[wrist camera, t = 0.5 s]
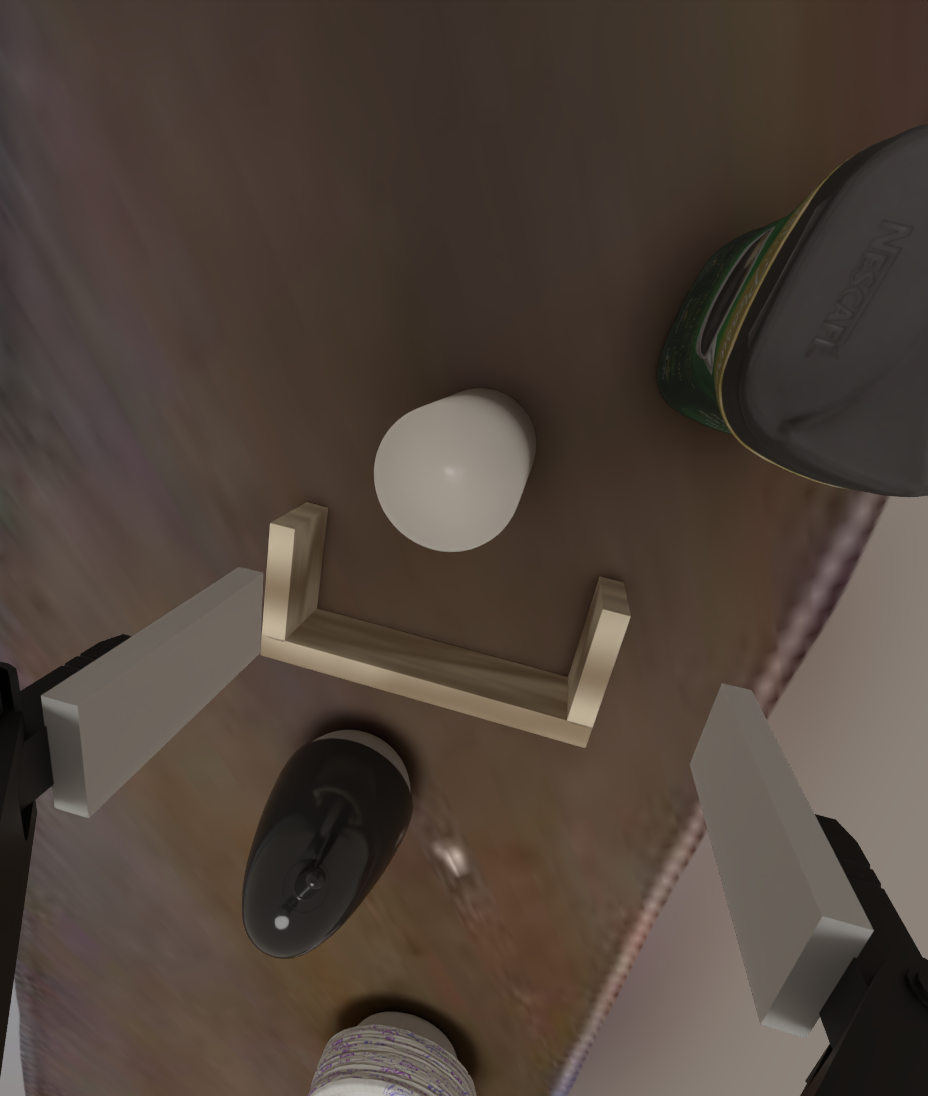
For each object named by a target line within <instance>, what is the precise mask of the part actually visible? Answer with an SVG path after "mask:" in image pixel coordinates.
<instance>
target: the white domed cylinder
mask: <svg viewBox="0 0 928 1096" xmlns="http://www.w3.org/2000/svg"><path fill="white" fill-rule="evenodd" d="M535 455H536V435H535V431H534V427H533V425H532V422H531V420H530V418H529V416H528V415H527V413H526V412H525V410H524V409H523V408H522V407H521V406H520V405H519V404H518V403H517V402H516V401H515V400H514V399H512V398H511V397H509V396H508V395H506V394H504V393H501V392H499V391H496V390H492V389H486V388H474V389H468V390H465V391H461V392H459V393H456V394H453V395H451V396H448V397H446V398H443V399H440V400H438V401H435V402H433V403H430V404H427V405H425V406H422V407H420V408H417V409H415V410H413V411H411V412H409V413H407V414H406V415H404V416H403V417H401V418H400V419H399V420H398V421H396V422H395V423H394V425H393V426H392V427H391V428H390V429H389V430H388V432H387V433H386V435H385V436H384V438H383V440H382V442H381V444H380V446H379V449H378V451H377V454H376V459H375V465H374V483H375V488H376V493H377V496H378V500H379V502H380V504H381V507H382V509H383V511H384V512H385V514H386V516H387V517H388V519H389V520H390V521H391V523H392V524H393V525H394V526H395V527H396V528H397V529H398V530H399V531H400V532H401V533H402V534H403V535H405V536H406V537H407V538H409V539H410V540H412V541H414V542H415V543H417V544H419V545H422V546H424V547H427V548H430V549H433V550H438V551H445V552H458V551H465V550H470V549H473V548H476V547H479V546H481V545H483V544H485V543H487V542H489V541H490V540H492V539H493V538H495V537H496V536H497V535H498V534H499V533H500V532H501V531H502V530H503V529H504V528H505V527H506V526H507V524H508V523H509V521H510V520H511V518H512V517H513V515H514V513H515V510H516V508H517V506H518V503H519V500H520V498H521V495H522V492H523V490H524V487H525V484H526V482H527V479H528V477H529V474H530V471H531V469H532V466H533V463H534V460H535Z"/></svg>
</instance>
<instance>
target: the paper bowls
mask: <svg viewBox="0 0 928 1096" xmlns="http://www.w3.org/2000/svg"><path fill="white" fill-rule="evenodd" d="M308 1096H476V1091H475V1087H474V1083H473V1080H472V1079H471V1077H470V1075H468V1072H467V1070H466V1069H465V1068H464V1066H462V1065H461V1063H460V1062H459V1061H458V1060H457V1056H456V1053H455V1050H454V1048H453V1046H452V1044H451V1043H450V1041H449V1040H448V1038H447V1037H446V1036H445V1035H444V1034H443V1033H442V1032H441V1031H440V1030H439V1029H438V1028H437V1027H435V1026H434V1025H432V1024H431V1023H429V1022H428V1021H426V1020H424V1019H422V1018H420V1017H417V1016H414V1015H411V1014H407V1013H402V1012H381V1013H377V1014H374V1015H371V1016H369V1017H367V1018H366V1019H364V1020H363V1021H362V1022H361V1023H360V1024H359V1025H358V1026H356V1027H352V1028H348V1029H344V1030H342V1031H341V1032H339V1033H337V1034H336V1035H334V1036H333V1037H332V1038H331V1039H330V1040H329V1042H328V1043H327V1045H326V1047H325V1049H324V1051H323V1054H322V1056H321V1058H320V1061H319V1064H318V1067H317V1070H316V1072H315V1075H314V1078H313V1082H312V1085H311V1089H310V1092H309V1094H308Z"/></svg>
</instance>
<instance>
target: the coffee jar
mask: <svg viewBox="0 0 928 1096" xmlns="http://www.w3.org/2000/svg"><path fill="white" fill-rule="evenodd" d="M657 378H658V385H659V389H660V392H661V394H662V396H663V398H664V399H665V400H666V402H667V403H668V404H669V405H670V406H671V407H672V408H673V409H675V410H676V411H678V412H679V413H681V414H682V415H684V416H686V417H688V418H690V419H692V420H694V421H696V422H698V423H700V424H702V425H704V426H707V427H709V428H712V429H715V430H718V431H722V432H725V433H729V434H732V435H733V436H734V437H735V438H736V439H737V440H738V441H739V442H740V443H741V444H742V445H743V446H744V447H746V448H747V449H749V450H750V451H751V452H753V453H754V454H756V455H758V456H759V457H761V458H763V459H764V460H766V461H768V462H771V463H773V464H775V465H777V466H779V467H781V468H783V469H786V470H788V471H790V472H792V473H794V474H797V475H799V476H802V477H804V478H807V479H810V480H813V481H815V482H819V483H822V484H826V485H830V486H833V487H839V488H844V489H852V490H858V491H864V492H870V493H874V494H879V495H886V496H899V497H919V496H927V495H928V124H926V125H921V126H918V127H915V128H912V129H910V130H907V131H905V132H903V133H900V134H898V135H896V136H894V137H892V138H889V139H887V140H884V141H882V142H879V143H877V144H874V145H872V146H870V147H868V148H866V149H864V150H862V151H861V152H859V153H857V154H856V155H854V156H852V157H851V158H849V159H848V160H846V161H845V162H844V163H842V164H841V165H840V166H839V167H837V168H836V169H835V170H834V171H833V172H832V173H831V174H829V175H828V176H827V177H826V178H825V179H824V180H823V181H822V182H821V183H820V184H819V185H818V186H817V187H816V188H815V189H814V190H813V191H812V192H811V193H810V194H809V195H808V196H807V197H806V198H805V200H804V201H803V202H802V203H801V204H800V205H799V206H798V207H797V208H796V209H795V210H794V211H793V212H792V213H790V214H789V215H788V216H786V217H784V218H782V219H780V220H778V221H775V222H773V223H771V224H770V225H767V226H765V227H762V228H759V229H756V230H752V231H750V232H748V233H746V234H744V235H742V236H740V237H738V238H736V239H734V240H733V241H731V242H729V243H728V244H726V245H725V246H723V247H722V248H720V249H719V250H718V251H717V252H716V253H715V254H714V255H713V256H712V257H711V258H710V260H709V261H708V262H707V264H706V265H705V267H704V268H703V270H702V271H701V273H700V274H699V276H698V277H697V279H696V281H695V283H694V284H693V286H692V288H691V289H690V291H689V293H688V294H687V297H686V299H685V300H684V302H683V304H682V306H681V308H680V310H679V312H678V314H677V317H676V319H675V321H674V323H673V325H672V327H671V330H670V332H669V335H668V337H667V340H666V342H665V345H664V348H663V351H662V354H661V357H660V361H659V365H658V372H657Z"/></svg>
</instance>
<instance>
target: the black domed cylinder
mask: <svg viewBox="0 0 928 1096" xmlns="http://www.w3.org/2000/svg"><path fill="white" fill-rule="evenodd" d="M412 809H413V805H412V797H411V789H410V781H409V777H408V773H407V770H406V768H405V766H404V764H403V762H402V760H401V758H400V757H399V755H398V754H397V753H396V752H395V750H394V749H393V748H392V747H391V746H390V745H388V744H387V743H386V742H384V741H383V740H382V739H380V738H378V737H376V736H374V735H372V734H369V733H366V732H362V731H357V730H340V731H335V732H331V733H328V734H325V735H323V736H321V737H319V738H317V739H315V740H314V741H312V742H310V743H308V744H306V745H304V746H302V747H301V748H299V749H298V750H297V751H296V752H295V753H294V754H293V755H292V756H291V757H290V759H289V760H288V761H287V763H286V764H285V766H284V768H283V769H282V771H281V773H280V775H279V777H278V779H277V781H276V783H275V785H274V787H273V789H272V791H271V793H270V796H269V798H268V800H267V803H266V805H265V807H264V810H263V813H262V815H261V818H260V821H259V824H258V827H257V830H256V833H255V836H254V840H253V843H252V846H251V850H250V853H249V857H248V861H247V865H246V870H245V875H244V882H243V890H242V917H243V924H244V928H245V931H246V933H247V935H248V937H249V939H250V940H251V942H252V943H253V944H254V945H255V946H256V947H257V948H258V949H259V950H260V951H261V952H263V953H265V954H267V955H269V956H271V957H275V958H281V959H289V958H295V957H299V956H302V955H304V954H306V953H308V952H310V951H311V950H313V949H315V948H316V947H318V946H319V945H320V944H322V943H323V942H324V941H326V940H327V939H328V938H329V937H331V936H332V935H333V934H334V933H335V932H336V931H337V930H338V929H339V928H340V927H341V926H342V925H343V924H344V923H345V922H346V921H347V920H348V919H349V918H350V917H351V915H352V914H353V913H354V912H355V911H356V909H357V908H358V907H359V906H360V904H361V903H362V902H363V900H364V899H365V898H366V896H367V895H368V894H369V892H370V891H371V890H372V888H373V887H374V886H375V884H376V883H377V881H378V880H379V879H380V877H381V876H382V874H383V873H384V871H385V870H386V868H387V866H388V865H389V863H390V861H391V860H392V858H393V856H394V855H395V853H396V851H397V849H398V847H399V846H400V844H401V842H402V840H403V838H404V836H405V834H406V831H407V829H408V826H409V823H410V820H411V816H412Z"/></svg>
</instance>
